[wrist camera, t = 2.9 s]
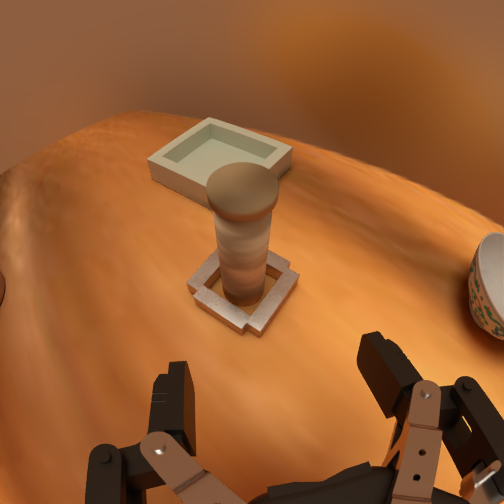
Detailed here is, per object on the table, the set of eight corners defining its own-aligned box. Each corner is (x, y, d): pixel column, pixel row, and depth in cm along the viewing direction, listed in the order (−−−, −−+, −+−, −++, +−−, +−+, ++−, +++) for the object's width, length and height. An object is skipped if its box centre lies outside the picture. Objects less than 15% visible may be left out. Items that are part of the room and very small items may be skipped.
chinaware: (506, 273, 34) (533, 245, 27) (519, 360, 25) (556, 339, 19) (440, 255, 35) (467, 220, 29) (449, 357, 27) (490, 333, 20)
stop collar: (184, 296, 31) (181, 288, 30) (234, 241, 36) (233, 230, 34) (255, 343, 28) (255, 337, 27) (300, 278, 33) (303, 269, 31)
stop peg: (211, 292, 32) (191, 191, 19) (238, 261, 34) (234, 154, 22) (249, 317, 30) (252, 222, 18) (274, 282, 33) (292, 178, 20)
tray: (152, 179, 42) (146, 159, 39) (210, 136, 49) (208, 117, 46) (236, 223, 37) (235, 201, 34) (289, 167, 44) (292, 146, 41)
